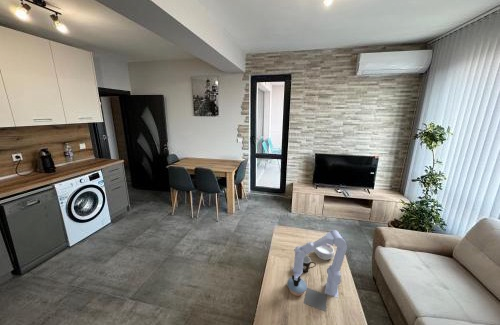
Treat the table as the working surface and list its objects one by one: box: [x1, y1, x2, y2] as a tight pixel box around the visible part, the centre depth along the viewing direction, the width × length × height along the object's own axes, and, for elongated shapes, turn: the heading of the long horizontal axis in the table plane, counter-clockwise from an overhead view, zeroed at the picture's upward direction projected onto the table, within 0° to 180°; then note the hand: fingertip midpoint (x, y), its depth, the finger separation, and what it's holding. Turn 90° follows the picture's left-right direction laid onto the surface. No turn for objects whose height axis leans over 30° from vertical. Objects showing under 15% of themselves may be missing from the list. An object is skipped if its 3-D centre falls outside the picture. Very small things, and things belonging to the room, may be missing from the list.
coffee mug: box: [302, 255, 317, 274], centre depth 154 cm, size 12×9×10 cm
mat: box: [303, 287, 328, 312], centre depth 131 cm, size 13×13×1 cm
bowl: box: [288, 288, 305, 297], centre depth 138 cm, size 10×10×4 cm
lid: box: [286, 276, 308, 294], centre depth 137 cm, size 13×13×4 cm
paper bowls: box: [314, 244, 335, 261], centre depth 171 cm, size 15×15×8 cm
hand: (297, 281), depth 137 cm, fingers open, 7 cm apart
